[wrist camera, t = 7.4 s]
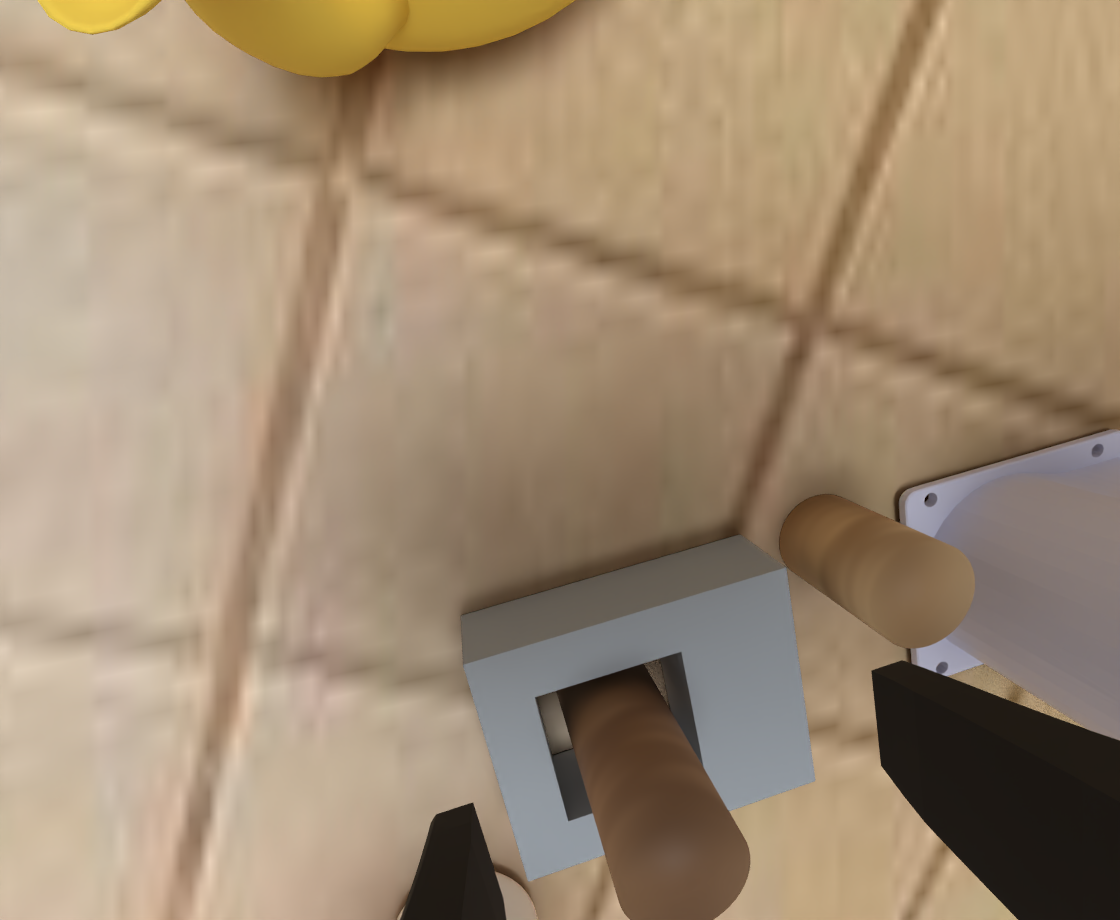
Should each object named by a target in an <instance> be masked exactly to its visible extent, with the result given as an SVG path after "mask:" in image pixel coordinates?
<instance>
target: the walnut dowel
mask: <svg viewBox="0 0 1120 920" xmlns="http://www.w3.org/2000/svg"><path fill="white" fill-rule="evenodd" d="M557 695H558V698H559V701H560V705H561V708H562V712H563V715H564V718H565V722H566V725H567V728H568V732H569V735H570V738H571V742H572V745H573V749H574V752H575V755H576V759H577V762H578V765H579V769H580V772H581V775H582V779H583V782H584V786H585V789H586V792H587V796H588V799H589V802H590V806H591V809H592V813H593V816H594V819H595V823H596V826H597V829H598V833H599V836H600V839H601V843H602V846H603V850H604V853H605V856H606V860H607V863H608V866H609V870H610V873H611V876H612V880H613V883H614V887H615V890H616V893H617V897H618V900H619V903H620V906H621V908H622V910H623V911H624V913H625V914H626V916H627V917H628V918H629V919H630V920H713V919H715V918H716V917H718V916H719V915H720V914H722V913H723V912H724V911H725V910H726V909H727V908H728V907H729V906H730V905H731V904H732V903H733V902H734V901H735V900H736V898H737V897H738V895H739V894H740V892H741V891H742V889H743V887H744V885H745V882H746V880H747V877H748V874H749V869H750V852H749V848H748V845H747V842H746V840H745V838H744V837H743V835H742V833H741V831H740V830H739V828H738V826H737V825H736V823H735V821H734V819H733V818H732V816H731V814H730V812H729V811H728V809H727V807H726V806H725V804H724V802H723V800H722V799H721V797H720V795H719V793H718V792H717V790H716V788H715V786H714V785H713V783H712V781H711V780H710V778H709V776H708V774H707V773H706V771H705V769H704V767H703V766H702V764H701V762H700V761H699V759H698V757H697V755H696V754H695V752H694V750H693V748H692V747H691V745H690V743H689V741H688V740H687V738H686V736H685V735H684V733H683V731H682V729H681V728H680V726H679V724H678V722H677V721H676V719H675V717H674V716H673V714H672V712H671V710H670V709H669V707H668V705H667V703H666V702H665V700H664V698H663V696H662V695H661V693H660V691H659V690H658V688H657V686H656V684H655V683H654V681H653V679H652V677H651V676H650V674H649V672H648V671H647V669H646V667H645V665H644V664H640V665H637V666H634V667H630V668H627V669H624V670H621V671H618V672H614V673H611V674H608V675H605V676H602V677H598V678H595V679H592V680H589V681H586V682H582V683H579V684H576V685H573V686H570V687H566V688H563V689H560V690H557Z"/></svg>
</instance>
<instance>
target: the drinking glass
mask: <svg viewBox="0 0 1120 920" xmlns="http://www.w3.org/2000/svg"><path fill="white" fill-rule="evenodd" d="M495 873H496V877H497V880H498V883H499V886H500V889H501V892H502V895H503V899H504V905H505V913H506V920H538V917H537V913H536V909H535V907H534V904H533V902H532V900H531V898H530V897H529V895H528V894H527V892H526V891H525V890H524V889H523V887H522V886H520V885H519V884H518V883H517V882H516V881H514V880H513V879H511V878H510V877H508V876H506V875H503V874H501V873H498V872H495ZM404 907H405V906H404ZM404 907H403V909H402V911H401V912H400V914H399V916H398V918H397V920H400V918H401V915H402V913H403V910H404Z"/></svg>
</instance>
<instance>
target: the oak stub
mask: <svg viewBox="0 0 1120 920" xmlns="http://www.w3.org/2000/svg"><path fill="white" fill-rule="evenodd" d="M779 546H780V553H781V556H782V559H783V561H784V563H785V564H786V565H787V567H788V568H789V569H790V570H791V571H792V572H794V573H795V574H797V575H798V576H799V577H801V578H802V579H804V580H805V581H806V582H808V583H809V584H811V585H812V586H813V587H815V588H816V589H818V590H819V591H820V592H822V593H823V594H825V595H826V596H827V597H829V598H830V599H832V600H833V601H834V602H836V603H837V604H839V605H840V606H841V607H843V608H844V609H846V610H847V611H848V612H850V613H851V614H853V615H854V616H855V617H857V618H858V619H860V620H861V621H862V622H864V623H865V624H867V625H868V626H869V627H871V628H872V629H874V630H875V631H876V632H878V633H879V634H881V635H882V636H883V637H885V638H886V639H888V640H889V641H890V642H892V643H893V644H895V645H898V646H901V647H904V648H923V647H926V646H930V645H932V644H935V643H937V642H939V641H941V640H942V639H944V638H945V637H947V636H948V635H949V634H950V633H952V632H953V631H954V630H955V629H956V628H957V627H958V626H959V624H960V623H961V622H962V620H963V619H964V617H965V616H966V614H967V612H968V610H969V608H970V606H971V603H972V600H973V596H974V591H975V576H974V571H973V568H972V566H971V563H970V561H969V560H968V558H967V557H966V556H965V555H964V554H963V553H962V552H961V551H960V550H959V549H957V548H955V547H953V546H951V545H949V544H947V543H944V542H942V541H940V540H937V539H935V538H933V537H931V536H928V535H926V534H924V533H921V532H919V531H917V530H915V529H912V528H910V527H908V526H905V525H903V524H901V523H899V522H896V521H894V520H892V519H889V518H887V517H885V516H883V515H880V514H878V513H876V512H874V511H871V510H869V509H867V508H864V507H862V506H860V505H858V504H855V503H853V502H851V501H848V500H846V499H844V498H842V497H839V496H836V495H831V494H822V495H817V496H813V497H811V498H808V499H806V500H805V501H803V502H802V503H800V504H799V505H798V506H796V507H795V508H794V509H793V510H792V512H791V513H790V514H789V515H788V517H787V519H786V520H785V522H784V524H783V527H782V530H781V533H780V540H779Z"/></svg>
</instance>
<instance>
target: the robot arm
mask: <svg viewBox="0 0 1120 920" xmlns="http://www.w3.org/2000/svg"><path fill="white" fill-rule="evenodd" d="M928 494H929V498H928V500H927V501H926V502H925V503H924V500H925V497H926V496H927V495H928ZM899 512H900V523H901V524H903V525H905V526H908V527H910V528H912V529H915V530H917V531H919V532H921V533H924V534H926V535H928V536H931V537H933V538H935V539H937V540H940V541H942V542H944V543H947V544H949V545H951V546H953V547H955V548H957V549H959V550H960V551H961V552H962V553H963V554H964V555H965V556H966V557H967V558H968V560H969V561H970V563H971V566H972V568H973V571H974V576H975V591H974V596H973V600H972V603H971V606H970V608H969V610H968V612H967V614H966V616H965V617H964V619H963V620H962V622H961V623H960V624H959V626H958V627H957V628H956V629H955V630H954V631H953V632H952V633H950V634H949V635H948V636H947V637H945V638H944V639H942V640H941V641H939V642H937V643H935V644H932V645H930V646H926V647H923V648H911V659H912V663H909V662H906V661H903V660H902V661H899V662H896V663H893V664H890V665H887V666H884V667H881V668H878V669H875V670H872V681H873V691H874V700H875V710H876V720H877V730H878V740H879V749H880V759H881V766H882V767H883V769H884V770H885V771H886V773H887V774H888V775H889V777H890V778H891V779H892V781H893V782H894V783H895V785H896V786H897V787H898V789H899V790H900V791H901V793H902V794H903V795H904V797H905V798H906V799H907V800H908V802H909V803H910V804H911V805H912V807H913V808H914V809H915V810H916V812H917V813H918V814H919V815H920V817H921V818H922V819H923V820H924V822H925V823H926V824H927V825H928V826H929V827H930V828H931V829H932V830H933V831H934V832H935V834H936V835H937V836H938V837H939V838H940V839H941V840H942V841H943V842H944V843H945V844H946V845H947V846H948V847H949V848H950V849H951V850H952V851H953V852H954V854H955V855H956V856H957V857H958V858H959V859H960V860H961V861H962V862H963V863H964V864H965V865H966V866H967V867H968V868H969V869H970V870H971V871H972V872H973V873H974V874H975V875H976V876H977V878H978V879H979V880H980V881H981V882H982V883H983V884H984V885H985V886H986V887H987V888H988V889H989V890H990V891H991V892H992V893H993V894H994V895H995V896H996V897H997V898H998V899H999V900H1000V901H1001V902H1002V903H1003V904H1004V905H1005V907H1006V908H1007V909H1008V910H1009V911H1010V912H1011V913H1012V914H1013V915H1014V916H1015V917H1016V918H1017V919H1018V920H1120V430H1117V429H1111V430H1107V431H1104V432H1100V433H1097V434H1094V435H1090V436H1087V437H1083V438H1080V439H1076V440H1073V441H1070V442H1066V443H1063V444H1059V445H1056V446H1052V447H1049V448H1046V449H1042V450H1039V451H1035V452H1032V453H1029V454H1025V455H1022V456H1018V457H1015V458H1011V459H1008V460H1005V461H1001V462H998V463H994V464H991V465H987V466H984V467H981V468H977V469H974V470H970V471H967V472H963V473H960V474H957V475H953V476H950V477H946V478H943V479H939V480H936V481H933V482H929V483H926V484H922V485H919V486H916V487H912V488H909V489H907V490H905V492H904V493H903V494H902V495H901V497H900V499H899ZM938 664H939V665H938ZM982 664H985V665H987V666H988V667H990V668H992V669H993V670H995V671H996V672H998V673H999V674H1001V675H1003V676H1004V677H1006V678H1007V679H1009V680H1011V681H1012V682H1014V683H1015V684H1017V685H1018V686H1020V687H1022V688H1023V689H1025V690H1026V691H1028V692H1029V693H1031V694H1033V695H1034V696H1036V697H1037V698H1039V699H1041V700H1042V701H1044V702H1045V703H1047V704H1048V705H1050V706H1052V707H1053V708H1055V709H1056V710H1058V711H1060V712H1061V713H1063V714H1064V715H1066V716H1067V717H1069V718H1071V719H1072V720H1074V721H1075V722H1077V723H1078V724H1080V725H1082V726H1083V727H1085V728H1086V729H1085V728H1082V727H1079V726H1076V725H1074V724H1071V723H1068V722H1065V721H1062V720H1060V719H1057V718H1054V717H1051V716H1049V715H1046V714H1043V713H1041V712H1038V711H1035V710H1033V709H1030V708H1027V707H1025V706H1022V705H1019V704H1017V703H1014V702H1011V701H1009V700H1006V699H1004V698H1001V697H998V696H996V695H993V694H991V693H988V692H985V691H983V690H980V689H978V688H975V687H973V686H970V685H967V684H965V683H962V682H960V681H957V680H955V679H952V678H949V677H947V676H949V675H952V674H955V673H958V672H961V671H964V670H967V669H970V668H973V667H976V666H979V665H982ZM937 665H938V666H937ZM400 920H506V913H505V905H504V899H503V895H502V892H501V889H500V886H499V883H498V880H497V877H496V873H495V870H494V867H493V864H492V861H491V858H490V855H489V851H488V848H487V845H486V842H485V839H484V836H483V833H482V829H481V826H480V823H479V820H478V817H477V814H476V811H475V807H474V804H473V803H470V804H467V805H464V806H461V807H458V808H454V809H451V810H448V811H445V812H442V813H439V814H436V816H435V817H434V819H433V820H432V822H431V825H430V828H429V832H428V836H427V839H426V843H425V846H424V849H423V853H422V856H421V859H420V862H419V866H418V869H417V872H416V875H415V878H414V881H413V884H412V887H411V890H410V893H409V896H408V899H407V902H406V905H405V907H404V910H403V913H402V915H401V918H400Z"/></svg>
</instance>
